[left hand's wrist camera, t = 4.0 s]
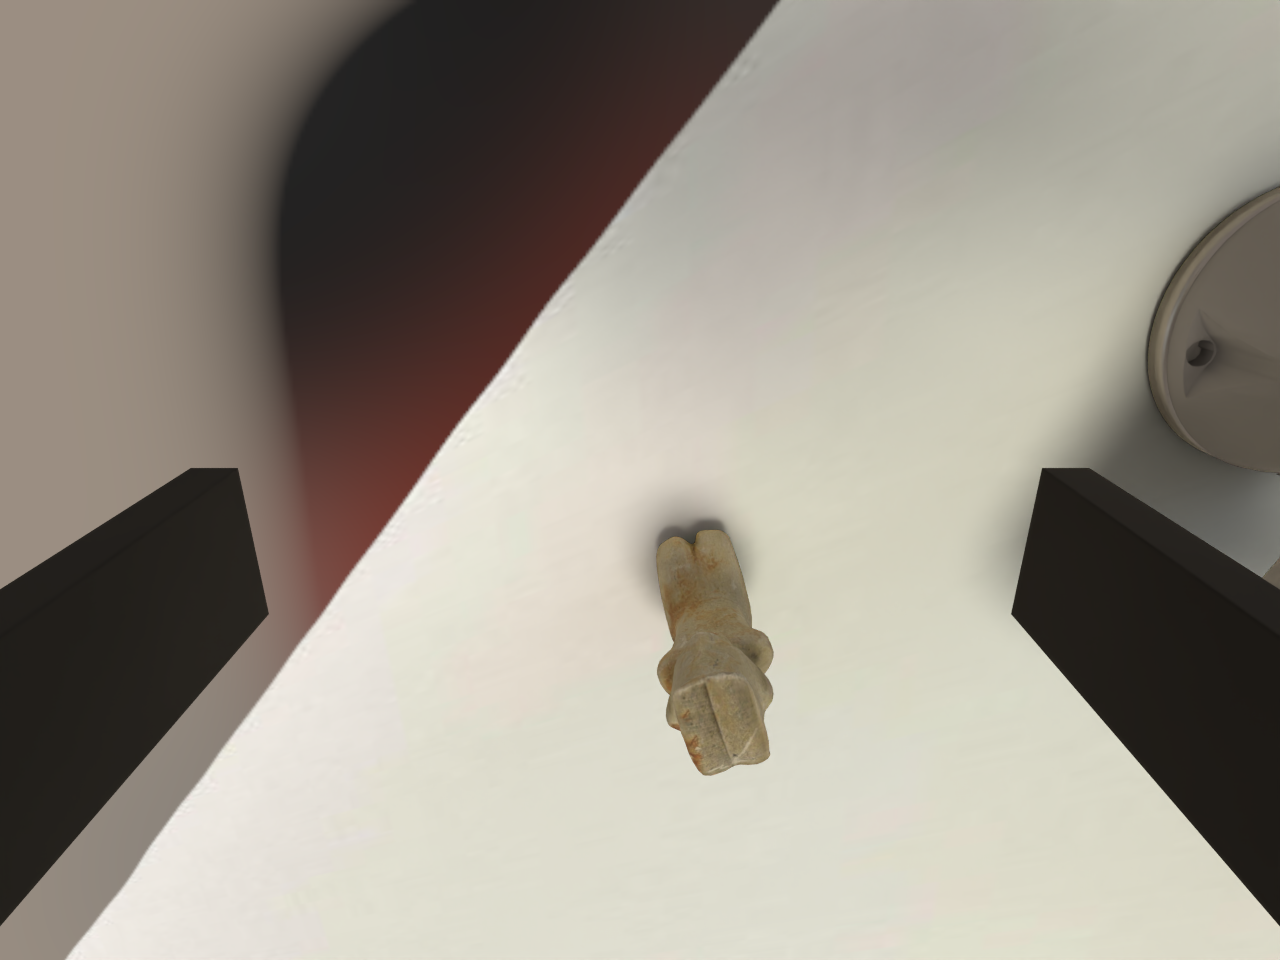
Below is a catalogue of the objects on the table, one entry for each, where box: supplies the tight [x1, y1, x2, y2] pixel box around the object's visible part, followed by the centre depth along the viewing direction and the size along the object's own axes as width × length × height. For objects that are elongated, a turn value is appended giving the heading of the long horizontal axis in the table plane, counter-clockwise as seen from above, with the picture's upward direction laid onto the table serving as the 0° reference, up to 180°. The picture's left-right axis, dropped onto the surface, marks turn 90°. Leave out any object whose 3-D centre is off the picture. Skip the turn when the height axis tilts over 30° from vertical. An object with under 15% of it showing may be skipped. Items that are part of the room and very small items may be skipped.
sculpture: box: [656, 530, 773, 776], centre depth 39 cm, size 6×7×15 cm
